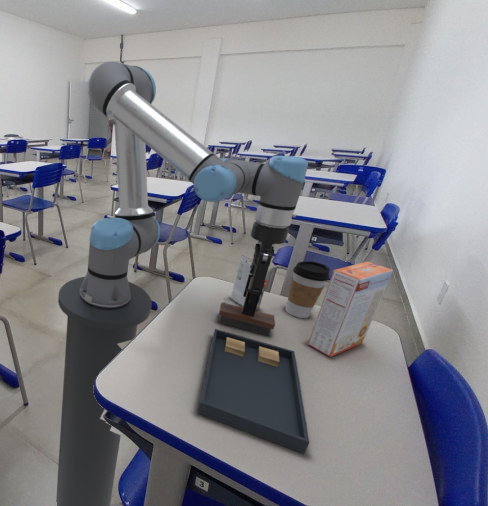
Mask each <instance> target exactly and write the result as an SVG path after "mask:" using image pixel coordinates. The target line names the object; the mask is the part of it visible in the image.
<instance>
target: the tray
mask: <svg viewBox="0 0 488 506" xmlns="http://www.w3.org/2000/svg"><path fill="white" fill-rule="evenodd" d="M227 337H228V338H232V339H235V340H239V341H242V342H245V352H244V355H243V357H242V356H239V355H236V354H232V353H229V352H226V351H225V342H226V338H227ZM259 346H260V347H264V348H267V349H271V350H274V351H278V353H279V361H280V362H279V365H278V367H276V366H272V365H269V364H266V363H262V362H259V361H258V348H259ZM200 393H201V394H200V399H199V405H198V410H197V414H198V415H199V416H203V417H206V418H208V419H211V420H213V421H216V422H219V423H221V424H223V425H227V426H229V427H232V428H234V429H236V430H240V431H241V432H245V433H247V434H250V435H253V436H255V437H258V438H260V439H262V440H263V439H264V440H266V441H269V442H272V443H273V444H276V445H278V446H282V447H283V448H287V449H288V450H289V449H290V450H292V451H295V452H297V453H300V454H302V455H305V454H306V451H307V449H308V446H309V444H310V438H309V432H308V426H307V420H306V419H307V418H306V413H305V408H304V402H303V396H302V390H301V382H300V377H299V371H298V365H297V359H296V353H295V351H294V350H292V349H288V348H284V347H281V346H278V345H275V344H270V343H266V342H263V341H259V340H256V339H253V338H250V337H245V336H242V335H239V334H235V333H231V332H228V331H225V330H222V329H217V328H214V331H213V334H212V339H211V344H210V348H209V354H208V359H207V364H206V369H205V374H204V378H203V384H202V389H201V392H200Z"/></svg>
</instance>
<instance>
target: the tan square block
mask: <svg viewBox="0 0 488 506" xmlns="http://www.w3.org/2000/svg"><path fill="white" fill-rule="evenodd" d="M225 351H226V352H229V353H232V354H236V355H239V356H242V357H243V355H244V352H245V342H242V341H239V340H235V339H232V338H228V337H227V338H226V342H225Z"/></svg>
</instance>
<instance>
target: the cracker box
mask: <svg viewBox="0 0 488 506" xmlns="http://www.w3.org/2000/svg"><path fill="white" fill-rule="evenodd" d="M393 272H394V269H392V268H389V267H385V266H382V265H379V264H377V263H373V262H371V261H364V262H360V263H356V264H352V265H348V266H344V267H341V268H340V267H339V268H336V269H333V271H332V274H331V277H330V280H329V283H328V285H327V287H326V291H325V294H324V297H323V299H322V303H321V306H320V308H319V311H318V314H317V316H316V320H315V322H314V325H313V327H312V331H311V334H310V337H309V339H308V342H307V345H308V346H310V347H312V348H313V349H315V350H317V351H318V352H321V353H322V354H324V355H326V356H327V357H329V358H332V357H334V356H336V355H339V354H341V353H344V352H346V351H348V350H350V349H353V348H355V347H357V346H360V345H362V344H363V343H364V340H365V338H366V335H367V333H368V331H369V328H370V326H371V324H372V322H373V319H374V317H375V314H376V312H377V310H378V307H379V305H380V303H381V300H382V298H383V295H384V293H385V291H386V289H387V286H388V284H389V281H390V279H391V277H392V275H393Z"/></svg>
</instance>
